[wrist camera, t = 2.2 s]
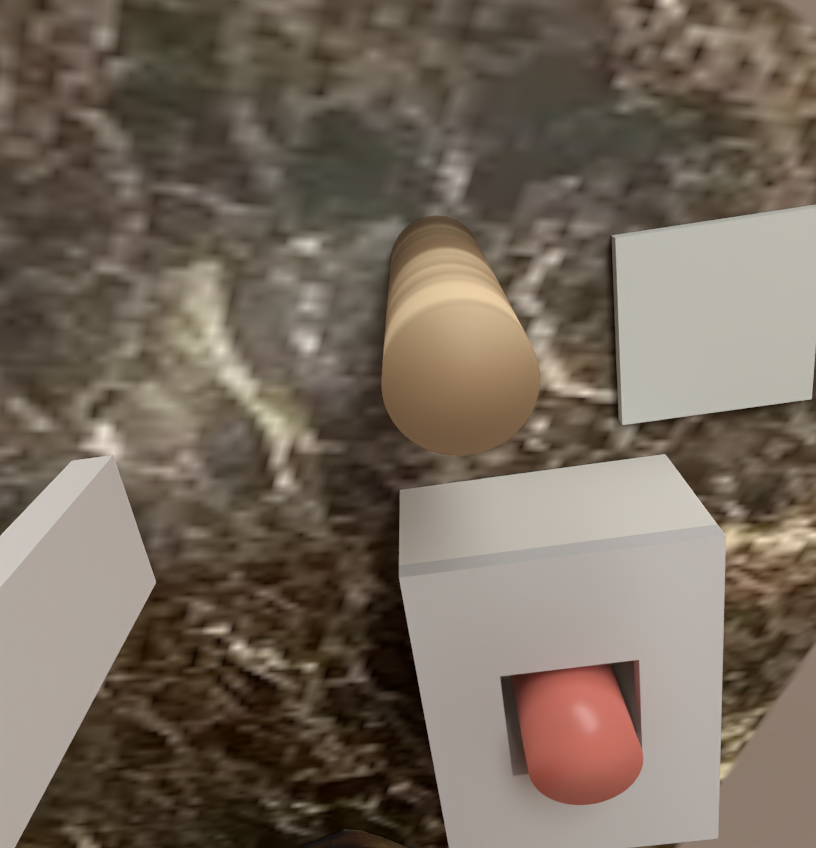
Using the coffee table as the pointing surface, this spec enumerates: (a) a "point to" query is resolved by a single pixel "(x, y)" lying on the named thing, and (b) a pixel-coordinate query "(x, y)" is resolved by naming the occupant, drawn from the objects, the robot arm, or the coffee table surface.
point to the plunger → (577, 734)
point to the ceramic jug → (353, 841)
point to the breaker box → (567, 642)
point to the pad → (715, 315)
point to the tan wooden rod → (453, 344)
